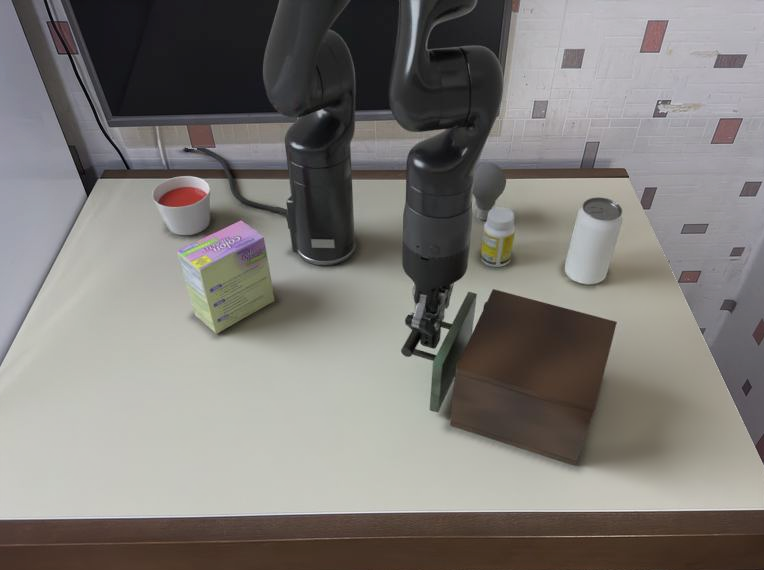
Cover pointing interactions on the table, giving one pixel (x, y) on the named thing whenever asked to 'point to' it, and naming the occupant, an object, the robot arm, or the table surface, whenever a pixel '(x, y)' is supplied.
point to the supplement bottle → (498, 237)
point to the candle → (184, 204)
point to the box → (227, 275)
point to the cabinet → (532, 375)
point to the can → (593, 240)
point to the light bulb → (487, 187)
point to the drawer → (446, 351)
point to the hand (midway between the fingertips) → (429, 343)
